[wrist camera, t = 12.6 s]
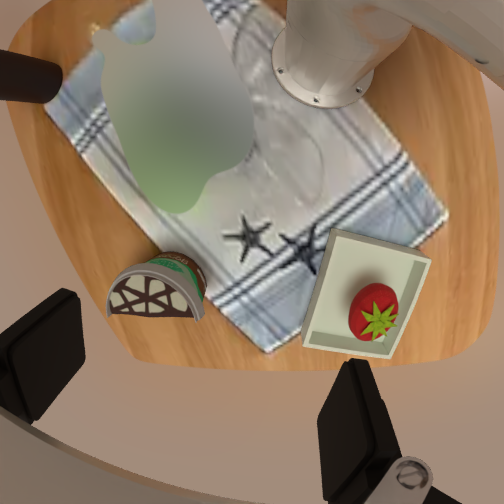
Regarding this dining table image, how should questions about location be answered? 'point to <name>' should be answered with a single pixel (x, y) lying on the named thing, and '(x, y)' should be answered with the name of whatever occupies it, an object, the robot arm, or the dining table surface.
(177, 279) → the food container
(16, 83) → the bottle
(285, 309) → the dining table surface
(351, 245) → the serving tray
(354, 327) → the strawberry
